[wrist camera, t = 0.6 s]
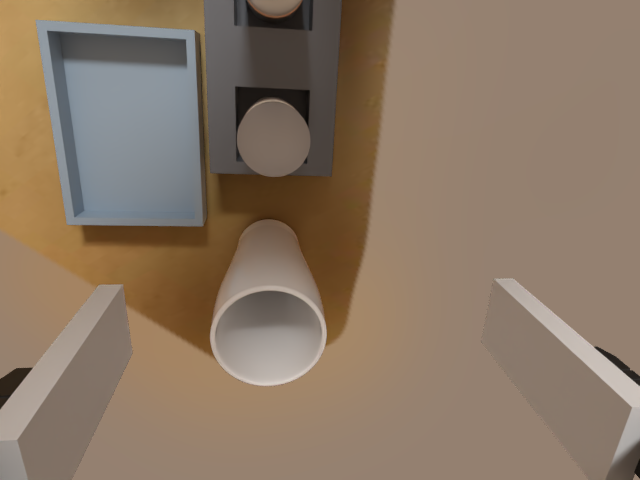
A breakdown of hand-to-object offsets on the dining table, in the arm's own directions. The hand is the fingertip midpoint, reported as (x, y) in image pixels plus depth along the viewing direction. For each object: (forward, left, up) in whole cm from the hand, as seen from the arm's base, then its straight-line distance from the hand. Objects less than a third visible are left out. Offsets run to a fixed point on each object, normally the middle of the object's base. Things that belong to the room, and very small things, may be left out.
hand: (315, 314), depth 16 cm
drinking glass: (+6, -2, -23) cm, 24 cm away
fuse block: (-9, -1, -23) cm, 25 cm away
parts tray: (-4, -12, -23) cm, 26 cm away
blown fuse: (-5, -1, -22) cm, 22 cm away
